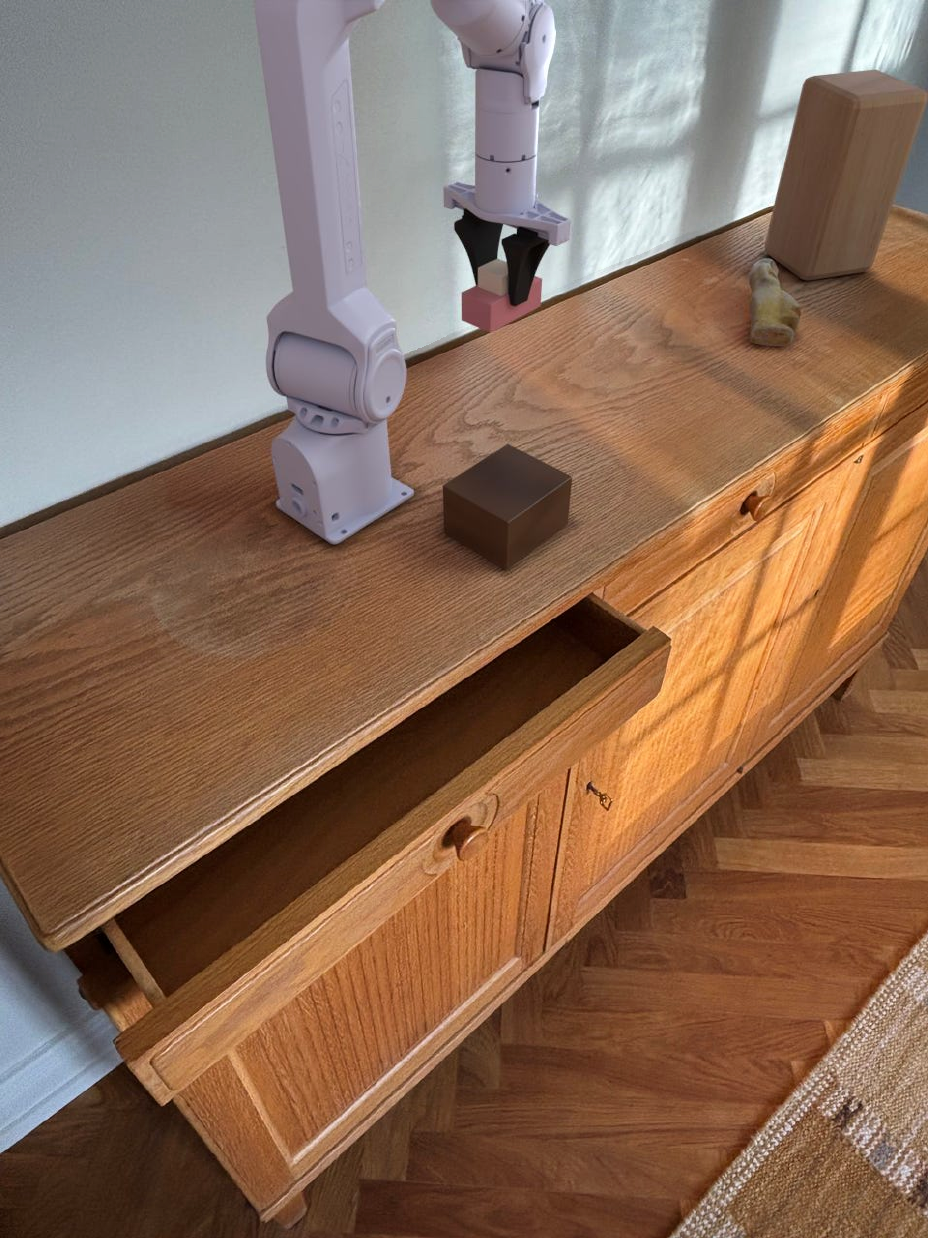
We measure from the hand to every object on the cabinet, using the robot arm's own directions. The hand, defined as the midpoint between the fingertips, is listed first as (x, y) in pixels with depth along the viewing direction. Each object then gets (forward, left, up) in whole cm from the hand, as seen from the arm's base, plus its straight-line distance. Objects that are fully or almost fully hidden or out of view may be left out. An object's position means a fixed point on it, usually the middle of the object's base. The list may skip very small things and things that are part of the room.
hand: (502, 295), depth 89 cm
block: (+44, -14, -7) cm, 47 cm away
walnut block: (-22, -20, -7) cm, 30 cm away
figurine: (+27, -17, -7) cm, 33 cm away
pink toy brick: (0, 0, -2) cm, 2 cm away
